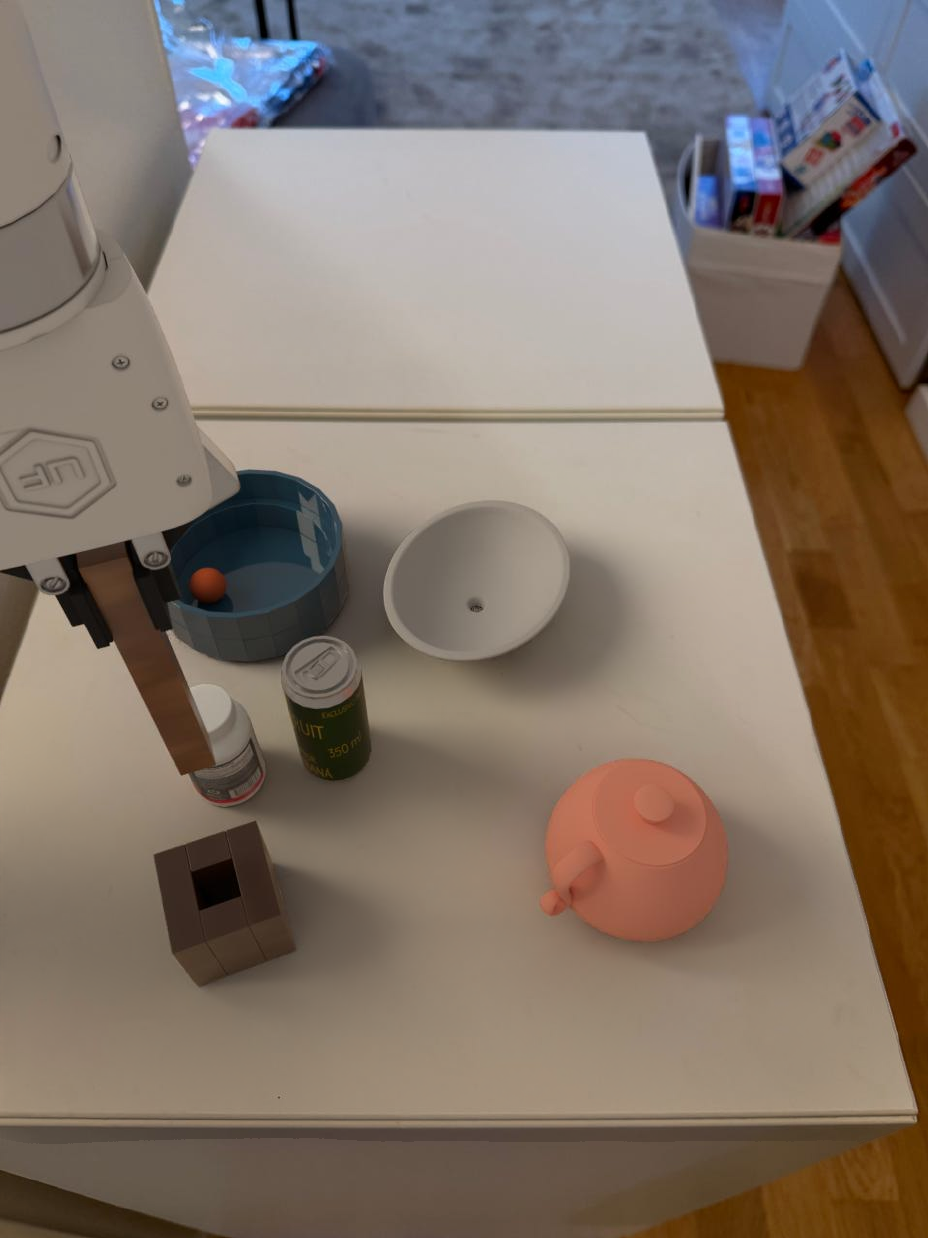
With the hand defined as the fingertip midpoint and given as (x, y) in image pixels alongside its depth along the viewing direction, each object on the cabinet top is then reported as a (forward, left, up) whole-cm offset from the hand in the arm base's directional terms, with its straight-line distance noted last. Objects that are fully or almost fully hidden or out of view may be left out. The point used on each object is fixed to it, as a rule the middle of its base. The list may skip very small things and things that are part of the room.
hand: (131, 613), depth 42 cm
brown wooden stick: (0, 0, -13) cm, 13 cm away
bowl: (+7, +24, -29) cm, 38 cm away
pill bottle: (+1, +7, -29) cm, 30 cm away
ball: (+3, +24, -27) cm, 36 cm away
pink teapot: (+25, -10, -29) cm, 39 cm away
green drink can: (+9, +6, -29) cm, 31 cm away
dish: (+24, +15, -29) cm, 40 cm away
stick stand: (-1, -4, -29) cm, 29 cm away
